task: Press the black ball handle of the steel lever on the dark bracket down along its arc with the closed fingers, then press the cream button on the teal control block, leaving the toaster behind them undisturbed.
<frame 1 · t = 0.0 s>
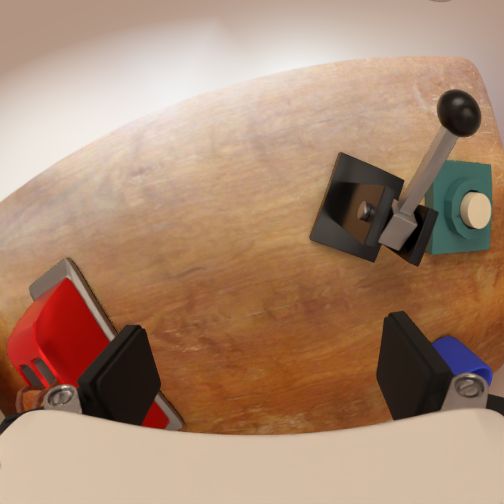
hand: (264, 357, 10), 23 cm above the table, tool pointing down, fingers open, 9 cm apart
toaster: (103, 358, 40), on the table
lever: (427, 170, 17), point 14 cm above the table, hinge at 30.0°
button: (475, 210, 25), point 4 cm above the table, slide at 0.1 cm
bracket: (356, 207, 31), on the table
button block: (455, 205, 30), on the table
mug: (429, 361, 36), on the table
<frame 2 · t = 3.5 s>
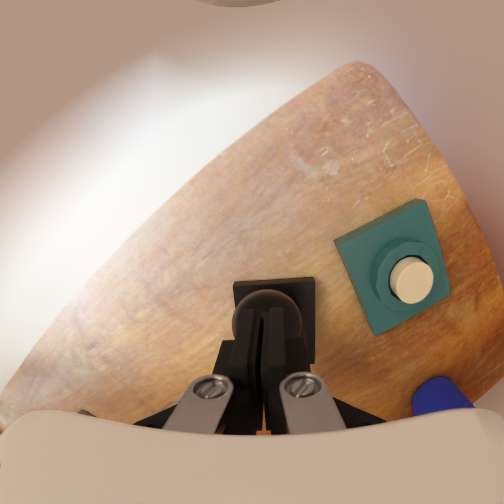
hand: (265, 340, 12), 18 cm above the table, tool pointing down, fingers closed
lever: (272, 365, 17), point 14 cm above the table, hinge at 29.9°, touching gripper
button: (411, 280, 24), point 4 cm above the table, slide at 0.1 cm
bracket: (276, 322, 31), on the table
button block: (394, 265, 28), on the table
mug: (422, 400, 33), on the table
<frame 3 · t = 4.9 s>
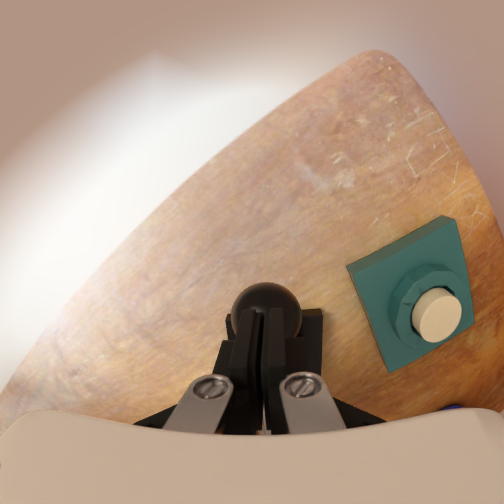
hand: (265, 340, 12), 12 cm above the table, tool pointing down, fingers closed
lever: (272, 397, 14), point 11 cm above the table, hinge at -2.4°, touching gripper
button: (436, 315, 19), point 4 cm above the table, slide at 0.1 cm
bracket: (276, 358, 26), on the table
button block: (414, 293, 23), on the table
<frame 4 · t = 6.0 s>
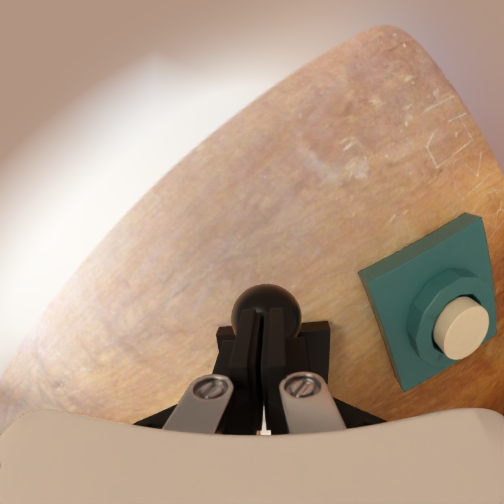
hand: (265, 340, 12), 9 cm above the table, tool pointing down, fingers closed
lever: (271, 417, 12), point 9 cm above the table, hinge at -24.1°, touching gripper
button: (461, 328, 15), point 4 cm above the table, slide at 0.1 cm
bracket: (276, 377, 22), on the table
button block: (433, 302, 20), on the table
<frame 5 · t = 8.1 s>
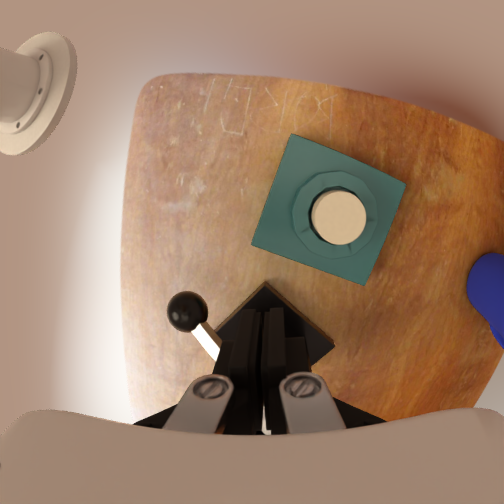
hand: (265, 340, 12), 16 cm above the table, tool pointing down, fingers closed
lever: (227, 362, 20), point 9 cm above the table, hinge at -24.4°
button: (338, 216, 22), point 4 cm above the table, slide at 0.1 cm
bracket: (273, 337, 30), on the table
button block: (327, 209, 26), on the table
mug: (483, 291, 27), on the table
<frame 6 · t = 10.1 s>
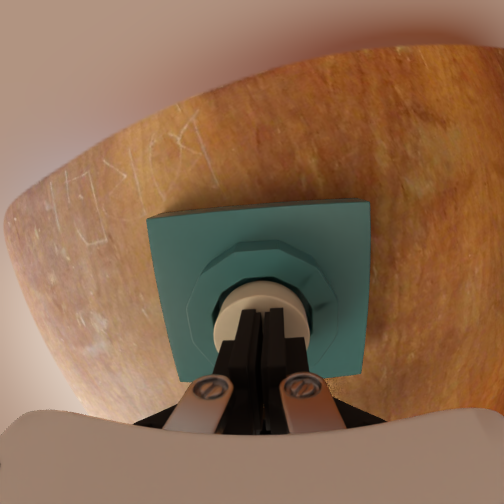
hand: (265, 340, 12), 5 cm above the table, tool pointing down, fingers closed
button: (262, 329, 13), point 4 cm above the table, slide at 0.1 cm, touching gripper
button block: (264, 291, 17), on the table
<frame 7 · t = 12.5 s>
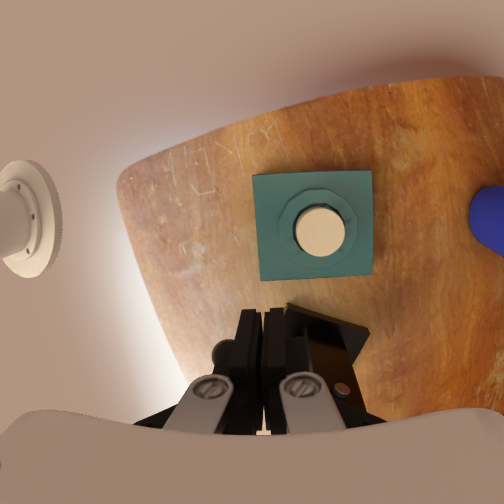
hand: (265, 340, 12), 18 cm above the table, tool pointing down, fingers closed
lever: (275, 384, 23), point 9 cm above the table, hinge at -24.4°
button: (319, 231, 24), point 4 cm above the table, slide at 0.1 cm
bracket: (315, 345, 32), on the table
button block: (313, 222, 28), on the table
mug: (490, 225, 26), on the table
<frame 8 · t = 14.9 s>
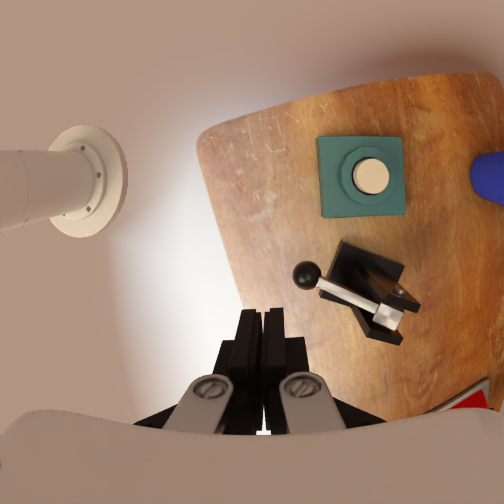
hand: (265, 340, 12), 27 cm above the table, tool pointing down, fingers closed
toaster: (427, 426, 46), on the table
lever: (347, 294, 30), point 9 cm above the table, hinge at -24.4°
button: (371, 176, 31), point 4 cm above the table, slide at 0.1 cm
bracket: (361, 278, 39), on the table
button block: (360, 175, 35), on the table
mug: (487, 185, 33), on the table
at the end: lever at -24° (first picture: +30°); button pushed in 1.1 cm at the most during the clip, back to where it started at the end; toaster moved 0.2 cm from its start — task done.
